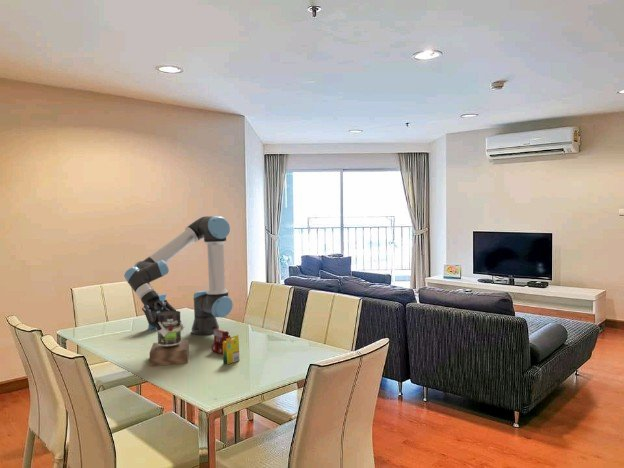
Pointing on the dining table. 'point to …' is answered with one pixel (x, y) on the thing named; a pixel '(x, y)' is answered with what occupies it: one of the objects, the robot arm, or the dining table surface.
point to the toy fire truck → (219, 340)
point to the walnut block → (169, 354)
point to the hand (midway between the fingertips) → (174, 331)
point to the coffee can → (170, 328)
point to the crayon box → (231, 350)
